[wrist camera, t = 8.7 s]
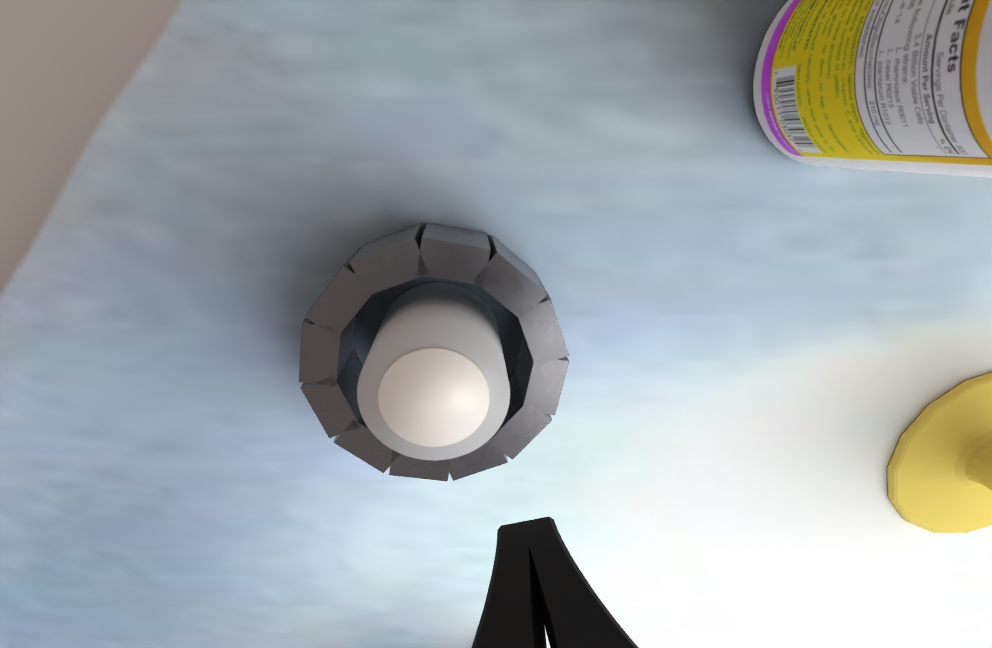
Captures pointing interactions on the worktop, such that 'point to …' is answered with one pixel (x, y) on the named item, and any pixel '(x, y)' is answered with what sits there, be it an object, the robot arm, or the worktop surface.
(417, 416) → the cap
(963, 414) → the candle
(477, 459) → the segmented grey ring
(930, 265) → the worktop surface
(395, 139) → the worktop surface
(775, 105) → the supplement bottle
